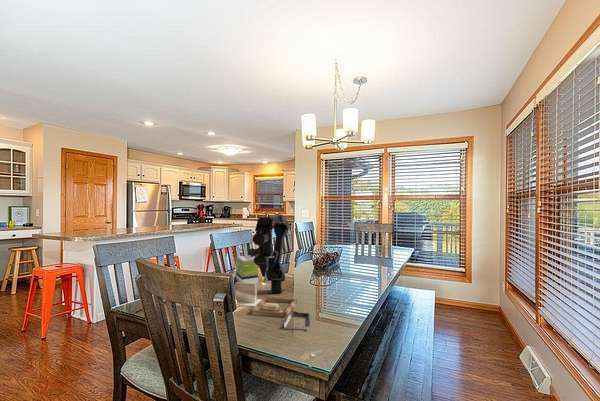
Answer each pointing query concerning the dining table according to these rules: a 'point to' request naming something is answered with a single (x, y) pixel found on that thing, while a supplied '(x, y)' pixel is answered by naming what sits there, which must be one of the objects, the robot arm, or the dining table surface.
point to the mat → (249, 303)
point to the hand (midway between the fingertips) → (266, 274)
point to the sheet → (246, 292)
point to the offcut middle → (271, 310)
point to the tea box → (246, 269)
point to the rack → (270, 313)
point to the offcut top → (270, 306)
